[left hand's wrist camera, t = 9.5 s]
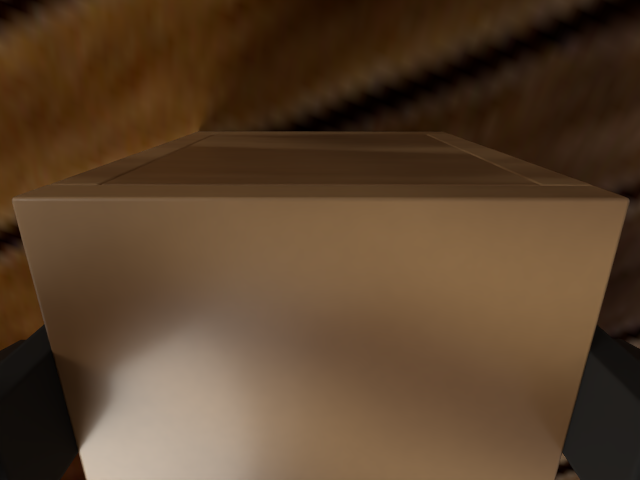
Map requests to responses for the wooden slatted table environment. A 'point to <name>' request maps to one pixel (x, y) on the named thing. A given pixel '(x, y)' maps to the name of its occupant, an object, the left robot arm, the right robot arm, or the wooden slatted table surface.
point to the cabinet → (320, 306)
